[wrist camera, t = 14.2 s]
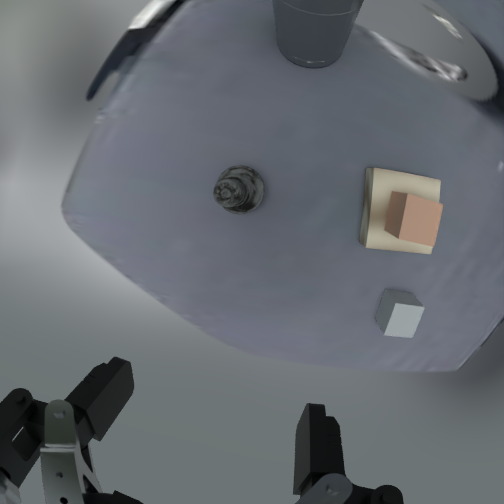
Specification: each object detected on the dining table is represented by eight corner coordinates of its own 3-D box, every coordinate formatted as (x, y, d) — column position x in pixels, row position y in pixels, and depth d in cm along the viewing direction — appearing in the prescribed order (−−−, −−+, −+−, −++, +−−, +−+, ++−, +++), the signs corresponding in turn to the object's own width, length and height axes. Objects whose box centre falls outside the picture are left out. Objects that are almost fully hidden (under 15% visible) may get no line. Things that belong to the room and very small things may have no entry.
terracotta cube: (391, 190, 30) (407, 193, 25) (424, 200, 29) (443, 204, 25) (383, 230, 31) (398, 238, 27) (416, 237, 31) (433, 247, 26)
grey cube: (384, 288, 37) (395, 303, 32) (411, 293, 37) (424, 307, 32) (374, 318, 38) (383, 335, 34) (401, 321, 38) (412, 337, 33)
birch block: (365, 168, 33) (374, 167, 30) (427, 179, 32) (440, 180, 28) (358, 240, 36) (365, 247, 32) (419, 246, 35) (431, 254, 31)
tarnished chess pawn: (238, 158, 35) (214, 149, 23) (275, 182, 35) (268, 185, 24) (214, 195, 37) (181, 203, 25) (250, 219, 37) (232, 238, 25)
